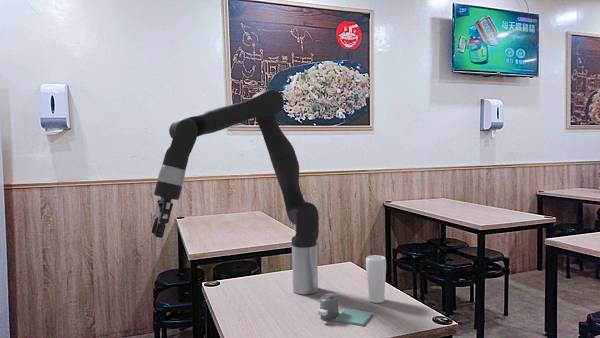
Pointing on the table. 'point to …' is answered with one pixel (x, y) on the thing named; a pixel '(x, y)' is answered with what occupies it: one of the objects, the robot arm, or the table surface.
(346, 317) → the mat
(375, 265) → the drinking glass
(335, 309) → the grey lobed figure
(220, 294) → the table surface
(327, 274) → the table surface
